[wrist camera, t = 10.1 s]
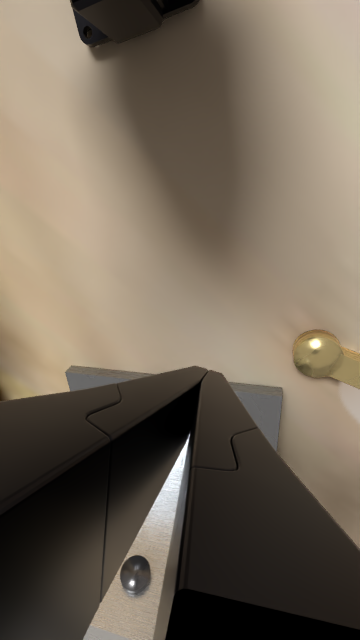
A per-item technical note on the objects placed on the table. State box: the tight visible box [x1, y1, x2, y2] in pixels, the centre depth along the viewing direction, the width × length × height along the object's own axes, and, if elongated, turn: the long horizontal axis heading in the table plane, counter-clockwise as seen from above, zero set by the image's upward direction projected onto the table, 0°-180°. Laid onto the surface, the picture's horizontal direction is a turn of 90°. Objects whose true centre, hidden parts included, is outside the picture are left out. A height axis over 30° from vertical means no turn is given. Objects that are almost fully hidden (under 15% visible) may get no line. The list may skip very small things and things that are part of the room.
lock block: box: [83, 465, 184, 640], centre depth 27 cm, size 16×6×12 cm, turn 4°
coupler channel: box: [65, 366, 282, 466], centre depth 30 cm, size 30×18×4 cm, turn 4°
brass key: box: [293, 330, 360, 389], centre depth 20 cm, size 8×3×1 cm, turn 72°
